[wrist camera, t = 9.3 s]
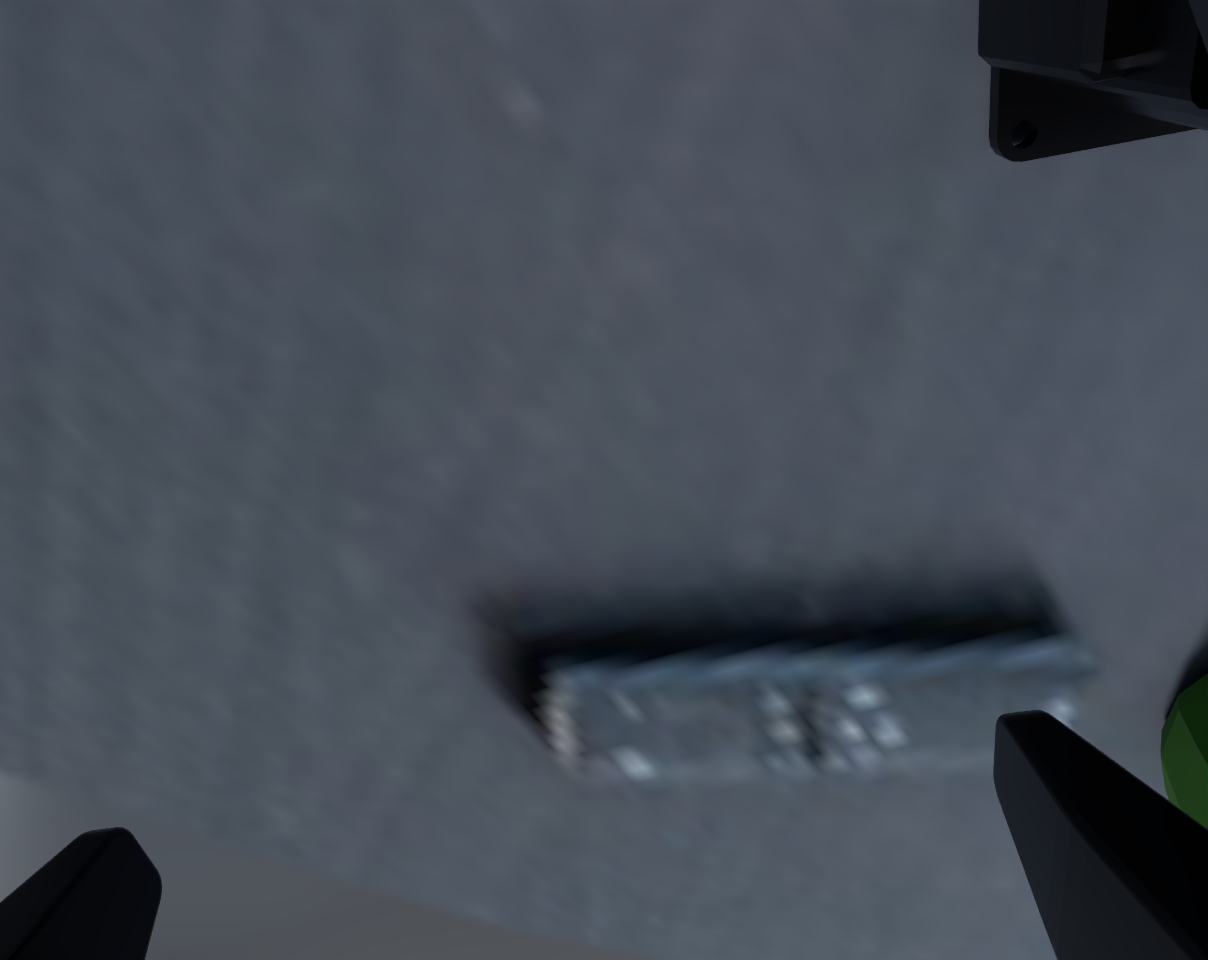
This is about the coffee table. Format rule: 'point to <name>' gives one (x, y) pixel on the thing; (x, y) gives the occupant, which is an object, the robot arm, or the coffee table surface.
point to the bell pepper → (1188, 752)
